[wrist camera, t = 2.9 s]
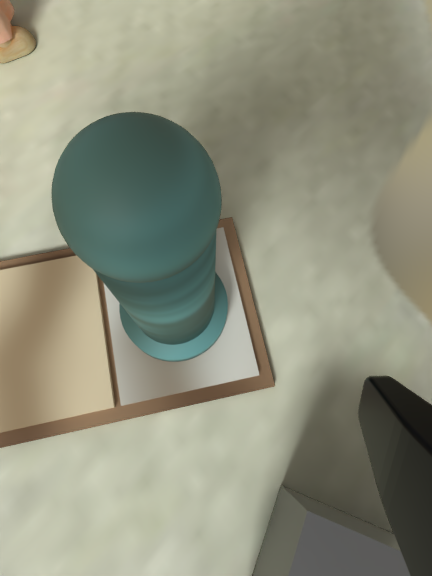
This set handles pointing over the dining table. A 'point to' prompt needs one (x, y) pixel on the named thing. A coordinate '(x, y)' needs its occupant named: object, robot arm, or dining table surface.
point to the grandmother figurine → (13, 36)
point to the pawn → (147, 228)
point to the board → (109, 349)
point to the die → (324, 542)
